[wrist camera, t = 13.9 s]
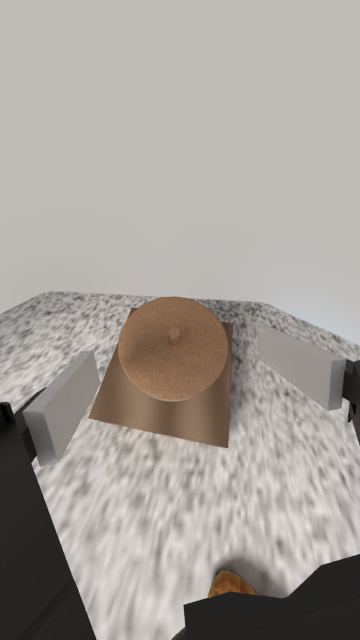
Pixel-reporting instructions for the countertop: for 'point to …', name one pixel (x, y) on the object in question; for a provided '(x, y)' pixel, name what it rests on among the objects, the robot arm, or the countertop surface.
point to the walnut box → (167, 405)
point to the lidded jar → (173, 348)
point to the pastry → (229, 584)
